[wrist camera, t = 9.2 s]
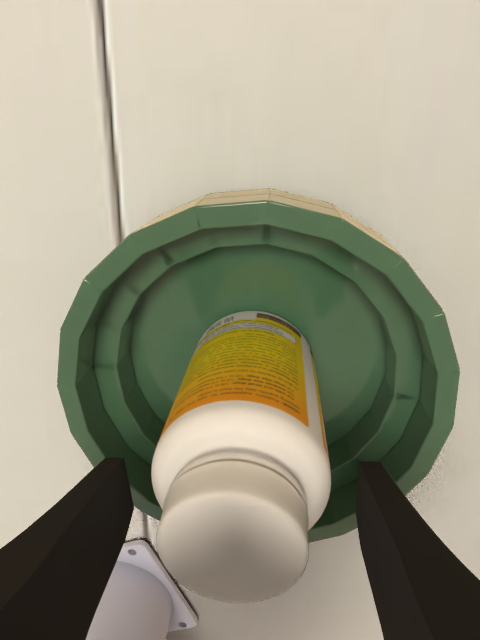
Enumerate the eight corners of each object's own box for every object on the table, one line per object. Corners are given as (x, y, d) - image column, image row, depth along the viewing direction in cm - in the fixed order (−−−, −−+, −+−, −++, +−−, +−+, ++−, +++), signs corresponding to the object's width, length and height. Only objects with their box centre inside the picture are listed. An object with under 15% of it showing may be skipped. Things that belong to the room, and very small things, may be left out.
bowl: (183, 508, 25) (165, 575, 21) (37, 268, 20) (-20, 299, 16) (458, 436, 22) (496, 501, 18) (366, 123, 17) (392, 118, 13)
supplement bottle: (173, 336, 20) (80, 509, 11) (280, 285, 19) (279, 433, 9) (231, 426, 22) (194, 642, 12) (333, 385, 20) (377, 595, 11)
